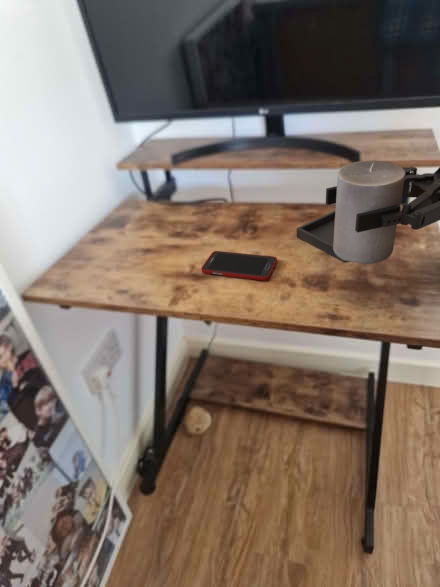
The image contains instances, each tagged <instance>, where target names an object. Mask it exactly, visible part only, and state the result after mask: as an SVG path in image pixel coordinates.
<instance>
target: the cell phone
mask: <svg viewBox="0 0 440 587" xmlns="http://www.w3.org/2000/svg"><path fill="white" fill-rule="evenodd" d="M277 263H278V258H277V257H276V256H273V255H272V256H271V255H261V254H254V253H253V254H252V253H243V252H233V251H222V250H214V251H213V252H211V254H210V255H209V256H208V258H207V259H206V261H205V262H204V263H203V265H201V266H202V267H201V269H200V270H201V273H202V274H207V275H218V276H223V277H230V278H231V277H232V278H238V279H239V278H240V279H247V280H255V281H268V280H269V279H270V278H271V277H272V274H273V270H274V269H275V267H276V265H277Z"/></svg>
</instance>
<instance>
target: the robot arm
mask: <svg viewBox="0 0 440 587" xmlns="http://www.w3.org/2000/svg"><path fill="white" fill-rule="evenodd" d="M403 169H404V171H405V178H404V184H403V191H402V197H403V198H414V199H413V200H412V201H410V202H408V203H406V202H403V203H402V208H401V205H400V206H399V205H395V206H390V207H386V208H381V209H377V210H372V211H368V212H363V213H359V214H357V216H356V227H355V231H356V232H362V231H367V230H371V229H376V228H380V227H388V226H392V225H396V224H397V225H401V226H408V225H410V226H411V229H412V230H414V231H417V230H421V229H423V228H425V227H427V226H430V225H432V224H434V223H437V222H439V221H440V166H439V167H438V168H437V169H436V171H434V172H432V173H431V172H429V173H428V172H424V173H421V174H419V173H417V172H418V168H417V167H409V168H403ZM409 188H410V191H409ZM336 195H337V185H336V186H331V187H327V188H326V189H325V204H326V206H330V205H331V206H332V205H336Z"/></svg>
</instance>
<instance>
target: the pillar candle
mask: <svg viewBox="0 0 440 587" xmlns="http://www.w3.org/2000/svg"><path fill="white" fill-rule="evenodd" d="M404 169H405V168H403V167H401V165H399V164H395V163H392V162H389V161H384V160H360V161H354V162H351V163H348V164H345V165H343V166H342V167H341V168H339V170H338V171H337V179H336V180H337V181H336V186H337V195H336V204H335V210H334V211H335V226H334V242H333V250H334V252H335V254H336V255H337V256H338V257H340V258H341V259H343V260H345V261H347V262H351V263H357V264H362V265H371V264H372V265H373V264H378V263H382V262H383V261H385V260H387V259H388V258H389V257H390V256H391V255H392V254H393V252H394V247H395V242H396V241H395V239H396V233H397V228H398V224H396V225H392V226H388V227H380V228H376V229H371V230H367V231H362V232H356V231H355V227H356V216H357V214H359V213H363V212H368V211H372V210H377V209H381V208H386V207H390V206H395V205H399V206H400V207H401V203H402V197H403V195H402V191H403V184H404V178H405V171H404Z"/></svg>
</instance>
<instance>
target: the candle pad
mask: <svg viewBox="0 0 440 587" xmlns="http://www.w3.org/2000/svg"><path fill="white" fill-rule="evenodd" d="M334 226H335V210H333V211H331V212H329V213H327V214H324V215H322V216H320V217H318V218H315V219H313V220H311V221H309V222H307V223H305V224H303V225H301V226H298V227H296V238H297V239H300V240H301V241H303V242H305V243H307V244H309V245H310V246H313V247H314V248H316V249H317V250H321V252H324V253H326V254H328V255H329V256H331V257H333V258H334V259H335V258H336V259H337V260H338V261H341V262H342V263H346V262H348V261H345V260H343V259H341V258H340V257H338V256H337V255H336V254H335V252H334V250H333V242H334Z"/></svg>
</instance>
